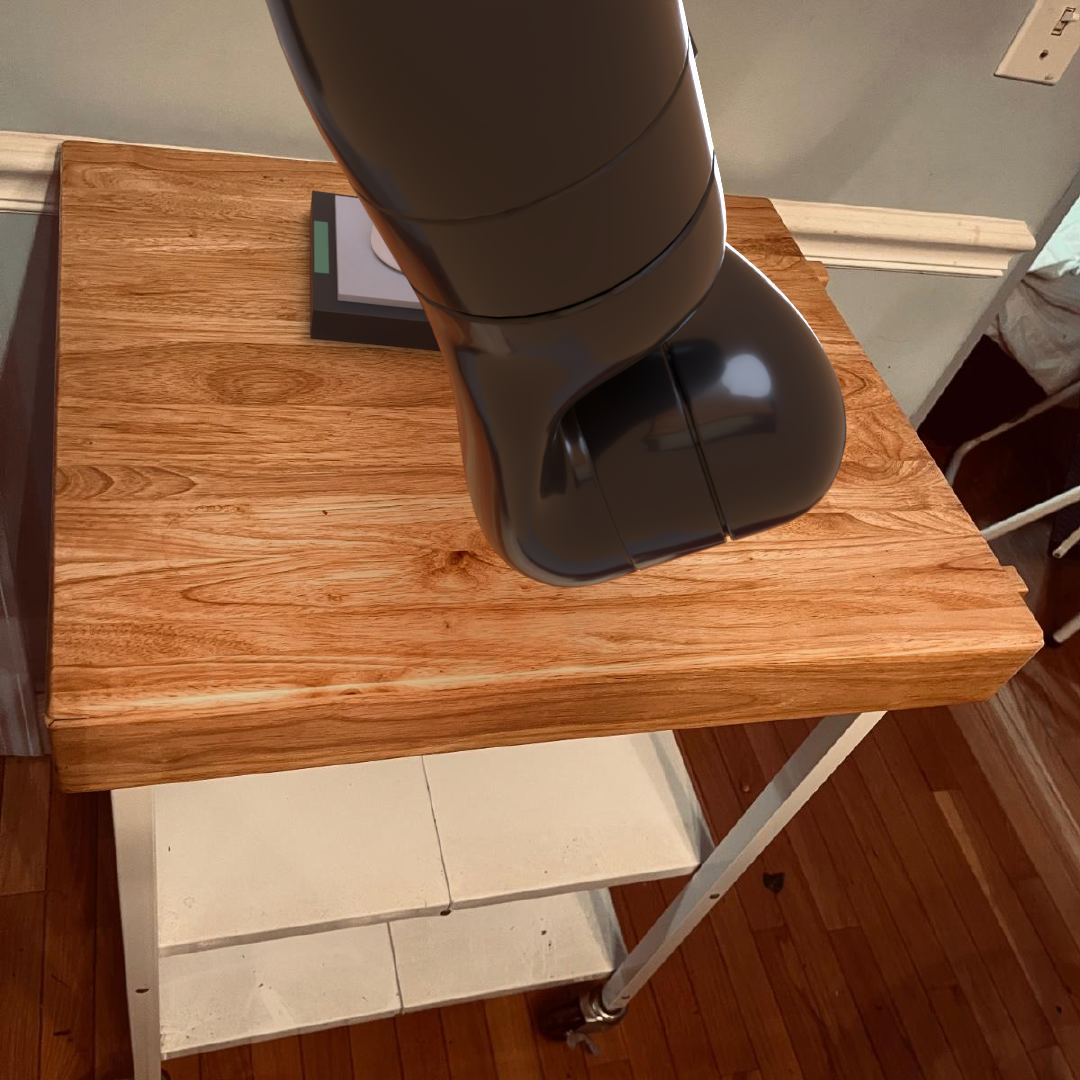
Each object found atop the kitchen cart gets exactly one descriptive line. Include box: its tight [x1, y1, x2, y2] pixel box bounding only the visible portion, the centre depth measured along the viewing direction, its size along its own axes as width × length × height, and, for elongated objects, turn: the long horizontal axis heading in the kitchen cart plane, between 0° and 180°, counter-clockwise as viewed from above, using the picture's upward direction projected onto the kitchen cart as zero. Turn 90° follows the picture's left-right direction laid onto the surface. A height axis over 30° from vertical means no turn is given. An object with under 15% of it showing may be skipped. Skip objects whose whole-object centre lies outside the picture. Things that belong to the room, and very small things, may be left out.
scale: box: [309, 190, 441, 352], centre depth 77 cm, size 14×14×3 cm
